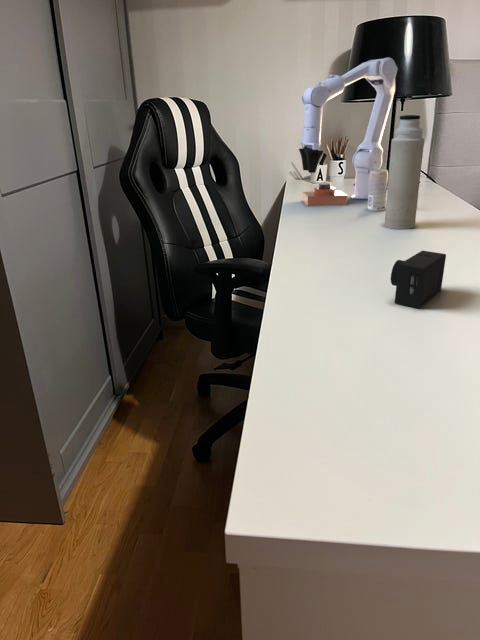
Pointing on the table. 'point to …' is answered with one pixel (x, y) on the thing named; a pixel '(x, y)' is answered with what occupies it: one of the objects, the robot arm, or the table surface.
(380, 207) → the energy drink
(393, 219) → the thermos bottle
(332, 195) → the orange stepped block
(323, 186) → the lid button
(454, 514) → the table surface
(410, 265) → the digital camera
